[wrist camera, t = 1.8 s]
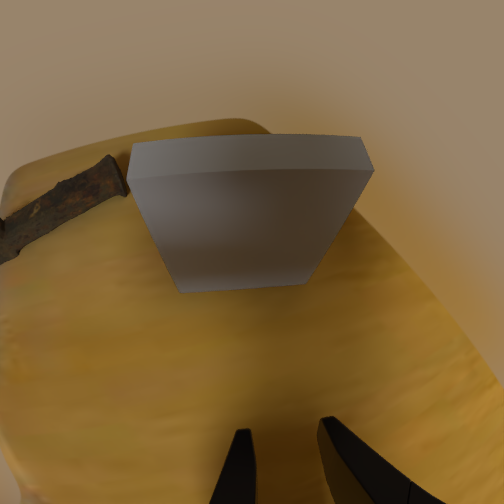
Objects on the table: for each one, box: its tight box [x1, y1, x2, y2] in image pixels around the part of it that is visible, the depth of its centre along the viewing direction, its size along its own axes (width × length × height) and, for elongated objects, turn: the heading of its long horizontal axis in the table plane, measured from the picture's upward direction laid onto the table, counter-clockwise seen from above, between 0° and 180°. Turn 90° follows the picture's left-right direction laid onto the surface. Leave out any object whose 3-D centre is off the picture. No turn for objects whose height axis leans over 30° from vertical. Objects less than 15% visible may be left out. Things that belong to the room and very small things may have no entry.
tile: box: [126, 134, 374, 293], centre depth 18 cm, size 2×10×14 cm, turn 96°
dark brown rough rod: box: [0, 154, 127, 265], centre depth 24 cm, size 19×4×5 cm, turn 119°
